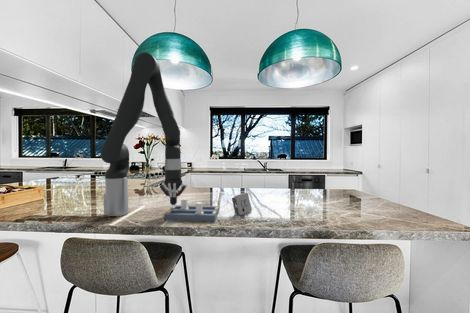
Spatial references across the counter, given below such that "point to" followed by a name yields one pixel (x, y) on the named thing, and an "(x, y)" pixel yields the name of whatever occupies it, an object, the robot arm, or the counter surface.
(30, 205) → the counter surface
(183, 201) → the tab
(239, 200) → the electrical switch
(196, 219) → the blue-grey compartment tray
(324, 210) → the counter surface
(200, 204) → the tab
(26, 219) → the counter surface
